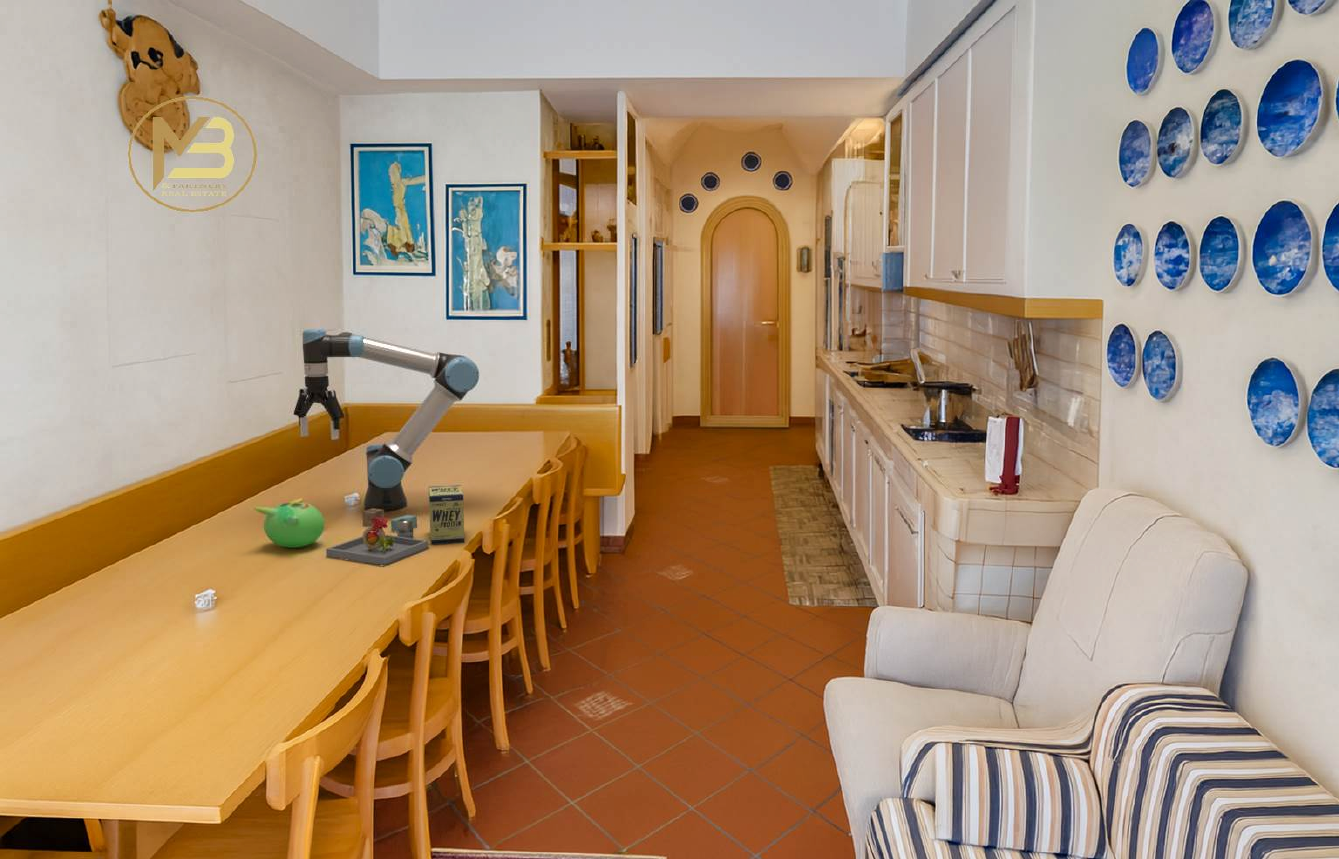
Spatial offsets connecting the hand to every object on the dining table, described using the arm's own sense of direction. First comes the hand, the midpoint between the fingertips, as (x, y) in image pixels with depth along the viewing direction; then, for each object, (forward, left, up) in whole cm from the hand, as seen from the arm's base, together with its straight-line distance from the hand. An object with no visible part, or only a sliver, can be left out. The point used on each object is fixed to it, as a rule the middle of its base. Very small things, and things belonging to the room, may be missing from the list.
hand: (319, 437), depth 322 cm
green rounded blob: (+29, +16, -29) cm, 44 cm away
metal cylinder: (+7, +41, -29) cm, 51 cm away
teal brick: (-2, +33, -29) cm, 44 cm away
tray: (+23, +44, -29) cm, 57 cm away
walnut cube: (-2, +20, -29) cm, 35 cm away
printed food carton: (+23, +44, -28) cm, 57 cm away
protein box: (0, +52, -29) cm, 60 cm away
